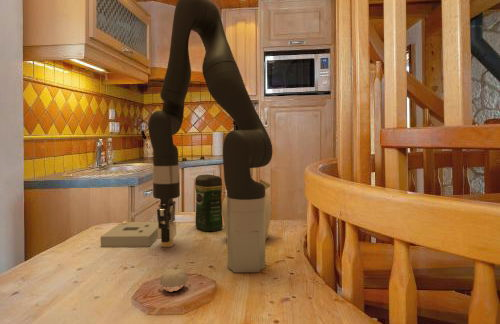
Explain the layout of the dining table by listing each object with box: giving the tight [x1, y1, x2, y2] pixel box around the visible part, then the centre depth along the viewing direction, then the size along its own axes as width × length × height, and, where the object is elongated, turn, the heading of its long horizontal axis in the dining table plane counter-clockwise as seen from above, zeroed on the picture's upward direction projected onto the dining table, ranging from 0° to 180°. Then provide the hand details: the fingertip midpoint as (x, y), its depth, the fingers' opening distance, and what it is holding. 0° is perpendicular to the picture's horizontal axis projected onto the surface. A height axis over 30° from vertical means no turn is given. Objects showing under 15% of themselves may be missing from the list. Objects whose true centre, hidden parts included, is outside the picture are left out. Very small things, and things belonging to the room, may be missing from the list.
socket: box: [100, 221, 158, 248], centre depth 121 cm, size 18×14×4 cm
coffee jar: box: [194, 173, 224, 232], centre depth 132 cm, size 10×8×19 cm
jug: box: [222, 168, 273, 241], centre depth 119 cm, size 15×16×25 cm
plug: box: [157, 221, 177, 248], centre depth 113 cm, size 4×4×6 cm
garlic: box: [159, 263, 189, 288], centre depth 81 cm, size 6×5×5 cm
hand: (167, 239), depth 113 cm, fingers closed on plug, 4 cm apart
